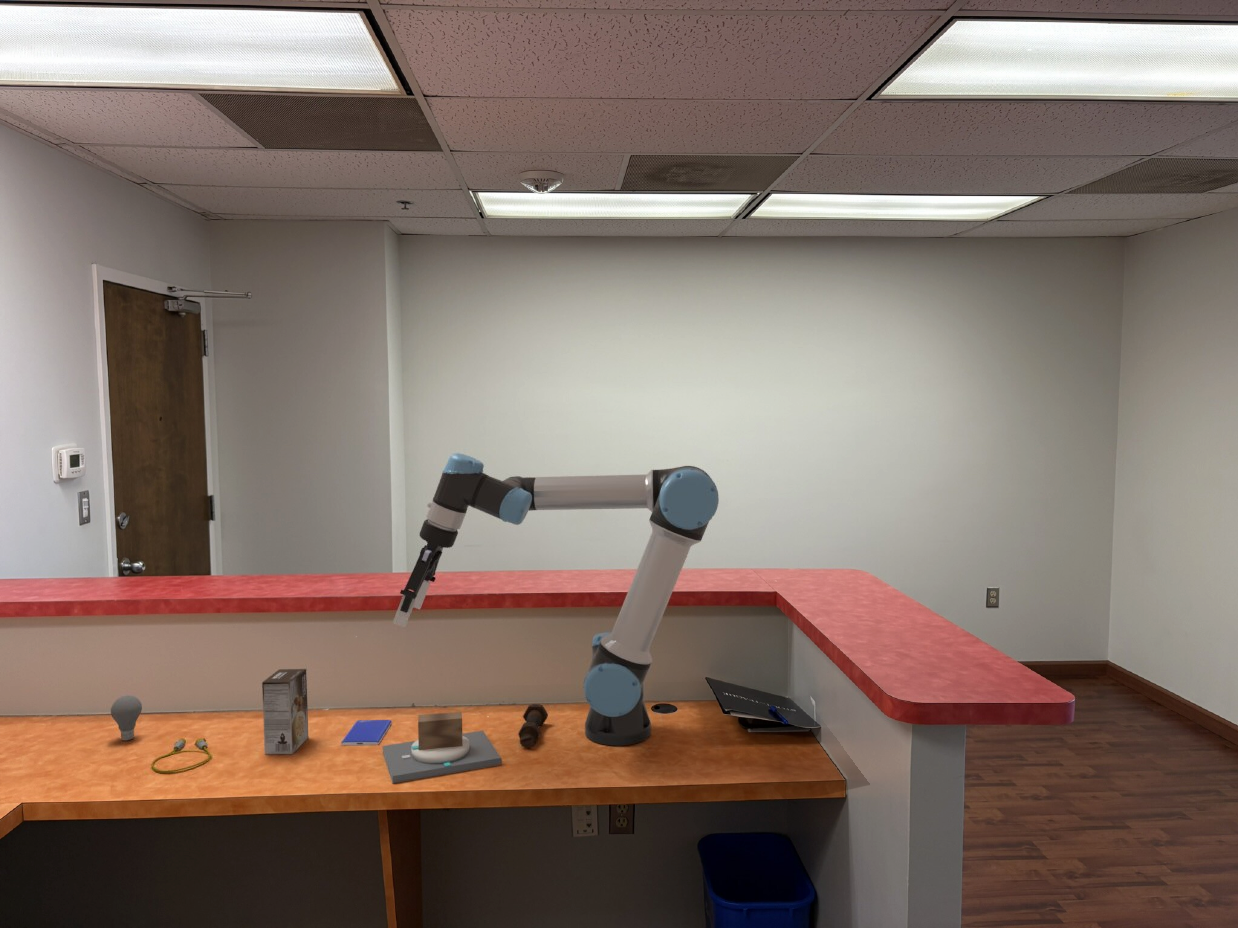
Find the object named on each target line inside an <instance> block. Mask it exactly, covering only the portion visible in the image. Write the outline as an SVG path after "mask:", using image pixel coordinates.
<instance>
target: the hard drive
mask: <svg viewBox="0 0 1238 928" xmlns="http://www.w3.org/2000/svg"><path fill="white" fill-rule="evenodd" d="M392 723H393V722H392V719H361V720H360V719H359V720H356V722H355V723H354V724H353V725H352V726H351V729H349V731H348V733H347V734H346V735H345V736H344V738H343V739H342V740H341V742H340V746H341V745H350V746H379V745H380V743H381V742H382V740H383V738H384V737H385V735H386V734H387V732H388V730H389V729H390V727H391V726H390V725H392ZM385 733H386V734H385ZM380 741H381V742H380ZM378 744H379V745H378Z"/></svg>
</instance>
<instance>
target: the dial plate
mask: <svg viewBox="0 0 1238 928" xmlns="http://www.w3.org/2000/svg"><path fill="white" fill-rule="evenodd" d="M462 736H464V737H466V738H467V739H468V740H469V752H468V753H467V754H466V755H465V756H464V757H462V758H460V759H457V760H454V761H451V762H445V763H424V762H420V761H417V760H415V759H414V758H413V757H412V750H411V747H412V744H413V743H414V742H415V741H416V740H412V741H406V742H405V741H404V742H400V743H393V744H387V745H382V755H383V758H384V761H385V764H386V767H387V770H388V774H389V777H390V779H391V783H392V784H397V783H405V782H409V781H416V780H420V779H421V780H422V779H427V778H433V777H437V776H438V777H439V776H444V775H449V774H455V773H460V772H466V771H473V770H479V769H484V768H491V767H497V766H500V765H502V757H501V755H500V754H499V752H498V751H497V750H496V748H495V746H494V744H493V743H492V742H491V740H490V739H489V737H488V736H487V735H486V733H485V731H484V730H478V731H471V732H470V731H469V732H464V733H463V732H462Z"/></svg>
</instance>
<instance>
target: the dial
mask: <svg viewBox="0 0 1238 928" xmlns="http://www.w3.org/2000/svg"><path fill="white" fill-rule="evenodd" d="M417 718H418V719H417V723H418V724H417V727H418V729H417V734H418V736H417V737H418V738H417V740H414V741H415V742H414V743H413V744H412V747H411V750H412V757H413V758H414V759H415V760H417V761H420V762H424V763H445V762H451V761H454V760H457V759H460V758H462V757H464V756H465V755H466V754H467V753H468V752H469V740H468V739H467V738H466V737H464V736H462V734H463V714H462V711H453V712H452V711H451V712H441V713H429V714H428V713H427V714H418V717H417Z"/></svg>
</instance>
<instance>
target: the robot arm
mask: <svg viewBox="0 0 1238 928" xmlns="http://www.w3.org/2000/svg"><path fill="white" fill-rule="evenodd" d="M484 465H485V464H484V463H483V462H482V461H481V460H479V459H476V458H475V457H473V456H470V455H466V454H464V453H459V452H456V453H452V454H451V455H450V456H449V458H448V461H447V462H446V465H445V467H444V469H443V470H442V471H441V476H440V479H439V482H438V484H437V488H436V490H435V493H434V495H433V498H432V500H431V502H428V504H427V508H429V509H428V511H427V514H426V519H425V520H424V521H423V523H422V526H421V529H420V530H419V537H420V538H421V539H422V540H423V541H425V542H426V543H427V544H426V545H424V547H422V548H421V549H420V552H419V556H418V559H417V560H416V562H415V565H414V568H413V569H412V572H411V573H410V576H409V578H408V580H407V582H406V585H405V587H404V589H401V590H400V592H399V594H400V595H402V597H401V600H400V602H399V604H398V605H399V606H398V607H397V610H396V613H395V616H394V618H393V620H392V624H394V625H396V626H399V627H402V628H406V627H407V625H408V621H409V619H410V617H411V614H412V611H413V609H416V610H421V609H422V606H423V603H424V601H425V598H426V595H427V592H428V591H429V587H430V586H431V584H432V583H435V581H436V579H437V578H436V577H435V575H436V570H437V569H438V565H439V562H440V558H441V557H442V554H443V549H445V548H446V549H448V548H449V549H451V548H453V546H454V545H455V542H456V539H457V537H458V535H459V532H458V530H460V529H461V527H462V524H463V522H464V519H465V517H466V515H467V510H468V508H469V507H471V508H472V509H475V510H479V511H481V512H482V513H485V514H487V515H490V516H492V517H495V518H496V519H499V520H502V522H504V523H509V524H513V525H516V526H518V525H521V524H522V523H523V522H524V520H525V519H526V516H527V515H528V512H529V511H532V512H533V511H557V510H558V511H559V510H560V511H561V510H562V511H563V510H564V511H565V510H566V511H567V510H615V509H616V510H621V509H622V510H623V509H624V510H626V509H627V510H628V509H632V510H633V509H648V510H649V511H650V512H651V513H650V517H649V520H648V521H649V523H650V524H649V525H650V526H651V529H652V531H651V534H650V536H649V539H648V542H647V544H646V546H645V549H644V551H643V555H642V556H641V559H640V562H639V563H638V566H637V569H636V571H635V574H634V576H633V579H632V580H631V584H630V586H629V589H628V591H627V593H626V595H625V598H624V600H623V604H622V605H621V609H620V610H619V613H618V616H617V618H616V620H615V623H614V626H613V628H612V630H611V632H609V631H608V632H607V631H606V632H601V633H597V634H595V635H594V636H593V637H592V642H591V648H592V656H591V657H592V658H591V661H590V665H589V668H588V671H587V673H586V675H585V678H584V681H583V694H584V698H585V699H586V702H587V703H588V705H589V706H590V707H589V710H588V713H587V716H586V719H585V722H584V723H585V724H584V734H585V737H587V739H589V740H590V741H592V742H593V743H596V744H601V745H605V746H614V747H615V746H617V747H618V746H621V747H622V746H631V745H635V744H640V743H642V742H644V741H646V740H647V739H649V738H650V737H651V735H652V722H651V719H650V717H649V713H648V710H647V706H646V703H645V700H644V682H645V679H646V677H647V675H648V672H649V670H650V667H651V665H652V663H653V658H652V654H651V653H650V648H651V645H652V642H653V640H654V638H655V636H656V634H657V630H658V628H659V626H660V623H661V621H662V618H663V616H664V613H665V611H666V609H667V606H668V604H669V601H670V599H671V597H672V594H673V591H674V589H675V586H676V584H677V582H678V579H679V577H680V575H681V571H682V569H683V566H684V564H685V563H686V559H687V557H688V554H689V552H690V550H691V547H693V545H695V544H698V543H700V542H702V540H703V537H704V536H705V532H706V530H707V527H708V525H709V523H710V521H711V520H712V519H713V517H715V515H716V512H717V511H718V507H719V500H720V499H719V498H720V497H719V491H718V488H717V485H716V484H715V481H713V479H712V477H711V476H710V475H709V474H708V473H707V472H706V471H704V469H701V468H699V467H697V466H694V465H682V466H676V467H672V468H664V469H663V468H662V469H651V470H650V471H649V472H647V474H615V475H614V474H613V475H573V476H571V475H569V476H568V475H565V476H564V475H563V476H537V477H531V476H529V477H528V476H527V477H524V476H523V477H522V476H518V475H515V476H510V477H507V478H505V479H504V480H500V479H498V478H495V477H492V476H490V475H488V474H486V473H484V467H485V466H484ZM431 582H432V583H431Z"/></svg>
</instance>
